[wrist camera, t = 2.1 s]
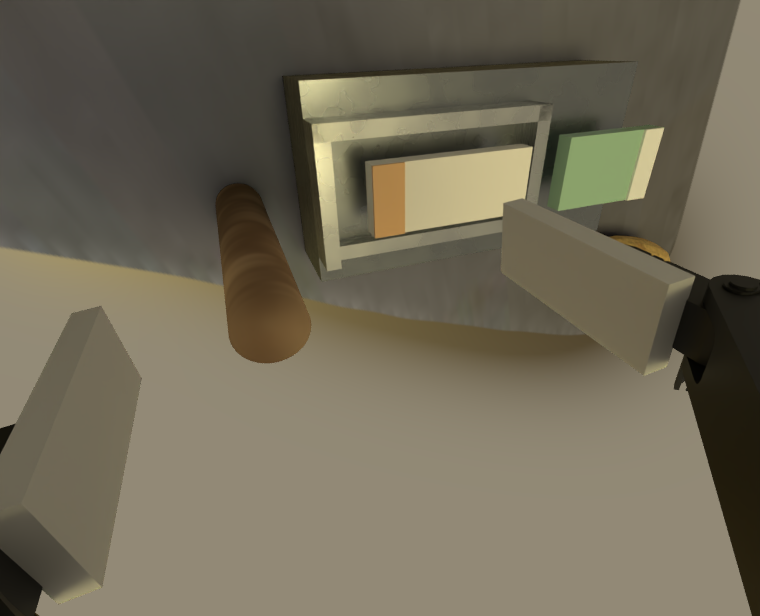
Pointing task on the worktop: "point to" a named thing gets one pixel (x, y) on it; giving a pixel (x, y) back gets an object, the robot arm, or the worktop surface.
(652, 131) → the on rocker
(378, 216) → the rocker
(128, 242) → the worktop surface
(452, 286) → the worktop surface
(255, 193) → the brown rounded rod
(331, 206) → the grey storage bin
